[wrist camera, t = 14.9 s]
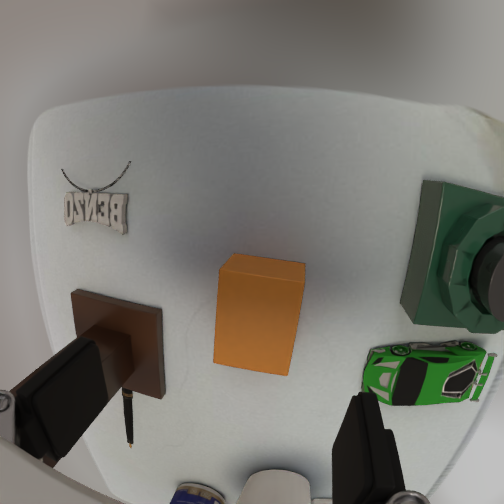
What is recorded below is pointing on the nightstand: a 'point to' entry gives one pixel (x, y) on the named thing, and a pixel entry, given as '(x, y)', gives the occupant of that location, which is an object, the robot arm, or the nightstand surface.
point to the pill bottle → (196, 495)
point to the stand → (119, 344)
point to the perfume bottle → (321, 501)
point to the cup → (275, 488)
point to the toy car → (426, 373)
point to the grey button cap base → (450, 256)
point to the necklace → (96, 207)
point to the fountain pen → (128, 414)
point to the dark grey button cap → (490, 277)
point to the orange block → (258, 313)
